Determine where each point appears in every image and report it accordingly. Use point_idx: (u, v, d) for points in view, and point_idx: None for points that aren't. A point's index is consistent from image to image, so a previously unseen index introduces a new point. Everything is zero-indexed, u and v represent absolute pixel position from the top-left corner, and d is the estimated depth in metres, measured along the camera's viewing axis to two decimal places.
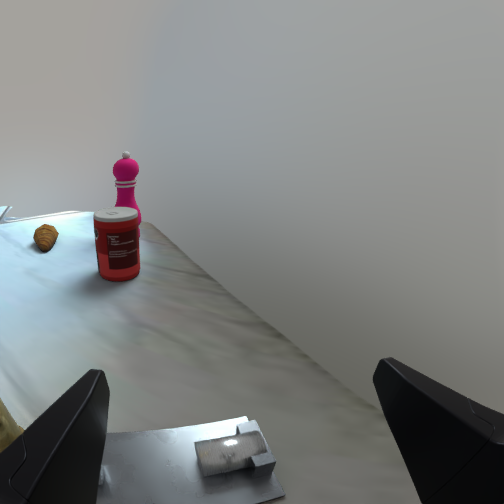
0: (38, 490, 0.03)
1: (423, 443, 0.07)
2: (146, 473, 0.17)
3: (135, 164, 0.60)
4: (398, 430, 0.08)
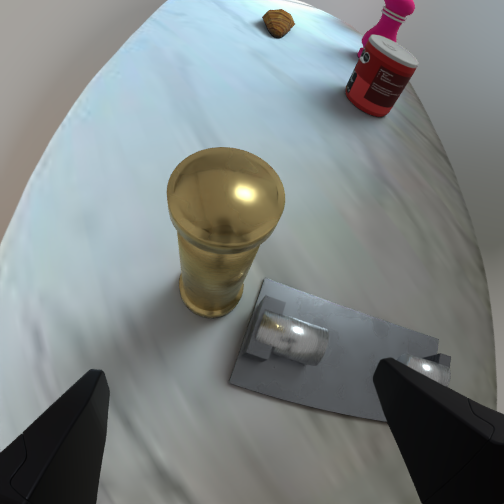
0: (38, 490, 0.03)
1: (422, 443, 0.07)
2: (351, 361, 0.23)
3: (413, 5, 0.33)
4: (398, 430, 0.08)
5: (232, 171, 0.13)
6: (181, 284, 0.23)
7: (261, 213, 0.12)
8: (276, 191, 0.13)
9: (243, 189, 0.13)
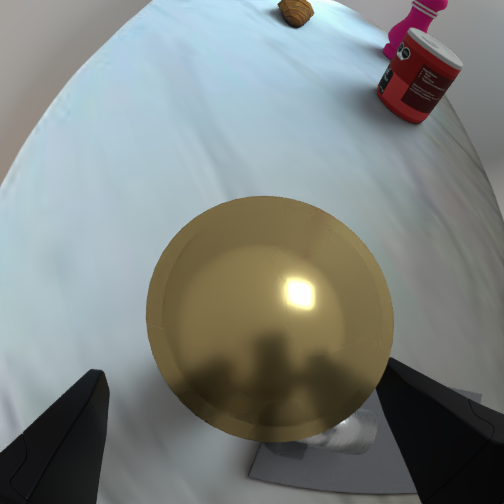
0: (39, 490, 0.03)
1: (423, 443, 0.07)
2: (393, 437, 0.16)
3: None
4: (398, 430, 0.08)
5: (292, 257, 0.06)
6: None
7: (355, 361, 0.05)
8: (376, 299, 0.06)
9: (317, 305, 0.06)
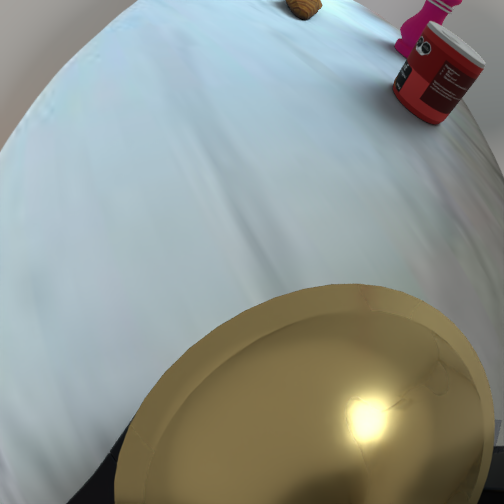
0: None
1: None
2: None
3: None
4: None
5: (382, 409, 0.03)
6: None
7: None
8: (478, 432, 0.03)
9: (411, 476, 0.02)
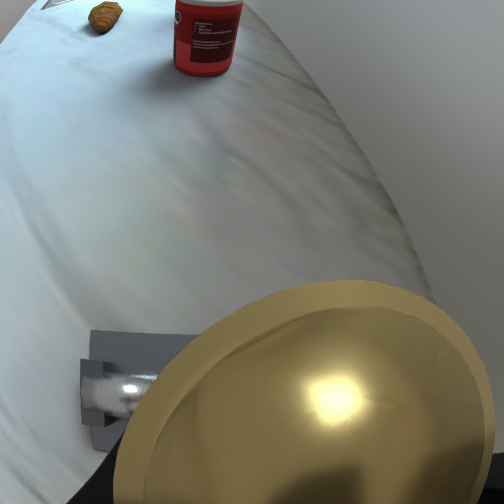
0: None
1: None
2: None
3: None
4: None
5: (382, 406, 0.03)
6: None
7: None
8: (478, 429, 0.03)
9: (411, 474, 0.02)
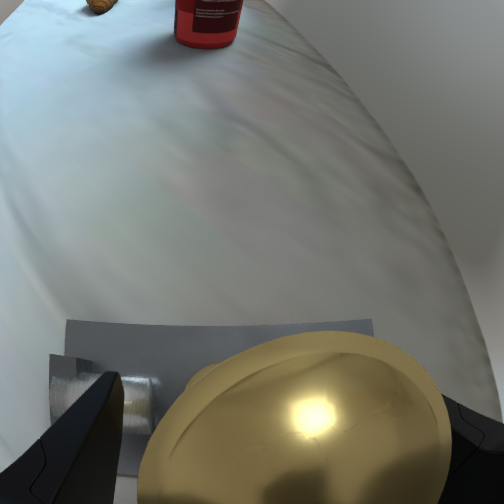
0: (59, 496, 0.03)
1: None
2: None
3: None
4: None
5: (343, 430, 0.03)
6: None
7: None
8: (435, 448, 0.04)
9: (368, 483, 0.03)
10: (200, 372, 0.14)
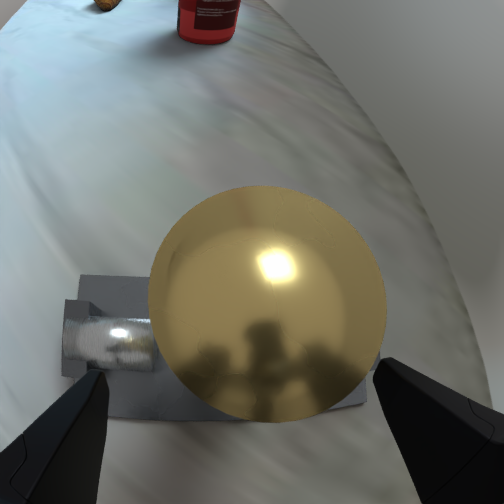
0: (38, 490, 0.03)
1: (423, 443, 0.07)
2: None
3: None
4: (398, 430, 0.08)
5: (288, 244, 0.06)
6: None
7: (348, 345, 0.06)
8: (370, 286, 0.06)
9: (312, 290, 0.06)
10: None
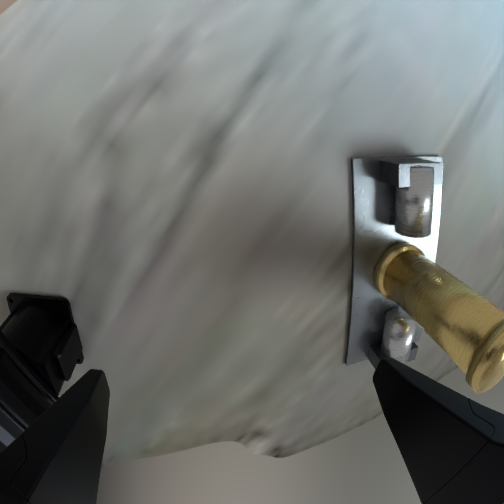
0: (38, 490, 0.03)
1: (423, 442, 0.07)
2: None
3: None
4: (398, 430, 0.08)
5: None
6: (406, 249, 0.22)
7: (485, 384, 0.12)
8: (491, 383, 0.13)
9: (500, 368, 0.12)
10: (423, 255, 0.22)
